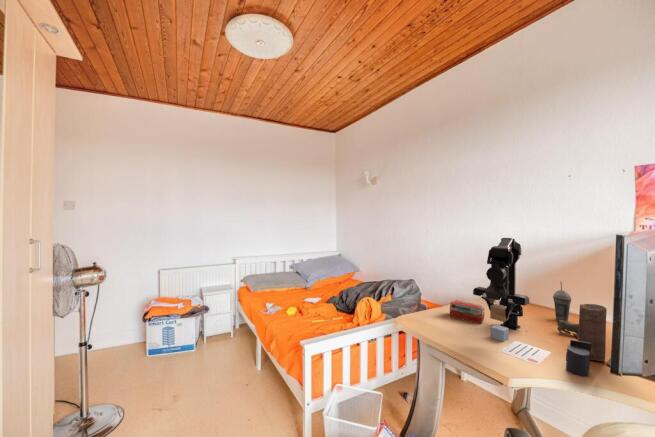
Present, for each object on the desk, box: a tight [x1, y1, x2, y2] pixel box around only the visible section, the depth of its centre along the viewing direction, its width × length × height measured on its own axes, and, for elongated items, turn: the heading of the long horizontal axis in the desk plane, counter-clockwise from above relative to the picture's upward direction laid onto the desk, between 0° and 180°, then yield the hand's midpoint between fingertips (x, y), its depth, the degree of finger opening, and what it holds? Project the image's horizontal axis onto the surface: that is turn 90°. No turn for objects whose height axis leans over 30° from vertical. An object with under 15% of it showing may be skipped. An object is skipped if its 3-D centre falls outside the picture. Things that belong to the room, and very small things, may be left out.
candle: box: [577, 303, 607, 362], centre depth 100 cm, size 8×7×20 cm
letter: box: [499, 340, 552, 366], centre depth 104 cm, size 16×12×1 cm
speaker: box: [565, 339, 591, 378], centre depth 90 cm, size 8×6×10 cm
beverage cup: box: [552, 281, 572, 323], centre depth 139 cm, size 7×7×20 cm
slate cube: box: [490, 324, 510, 343], centre depth 116 cm, size 5×5×5 cm
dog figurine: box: [556, 317, 579, 339], centre depth 120 cm, size 12×6×7 cm, turn 44°
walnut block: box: [489, 303, 509, 323], centre depth 109 cm, size 5×5×5 cm
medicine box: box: [449, 299, 485, 325], centre depth 140 cm, size 15×8×8 cm, turn 53°
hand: (499, 316), depth 109 cm, fingers closed on walnut block, 5 cm apart
